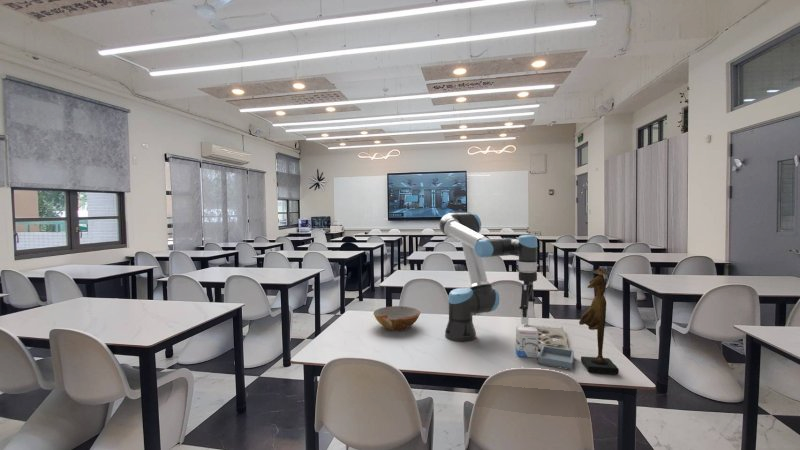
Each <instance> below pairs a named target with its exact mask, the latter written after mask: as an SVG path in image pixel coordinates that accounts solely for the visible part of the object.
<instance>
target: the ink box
mask: <svg viewBox="0 0 800 450" xmlns="http://www.w3.org/2000/svg"><path fill="white" fill-rule="evenodd" d="M515 328H516V329H515V354H516V356H517V357H522V358H523V357H524V358H537V359H538V356H539V354H538V353H539V350H538V341H539V340H538V330H537V329H536V328H535V327H524V326H523V325H522V326H520V325H518V326H516V327H515Z"/></svg>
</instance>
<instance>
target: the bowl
mask: <svg viewBox="0 0 800 450" xmlns="http://www.w3.org/2000/svg"><path fill="white" fill-rule="evenodd" d="M420 315H421V311H420V310H419V309H417V308H414V307H411V306H400V305H398V306H397V305H396V306H395V305H394V306H385V307H380V308H378V309H376V310H374V311H373V316H374V317H375V320H376V321H377V322H378V323H379V325H381V326H382V327H384V328H386V329H388V330H390V331H405V330H406V329H407V328H410V327H412V326H413V325H414V324H415V323H416V322H417V320H418V319H419V318H420Z"/></svg>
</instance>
